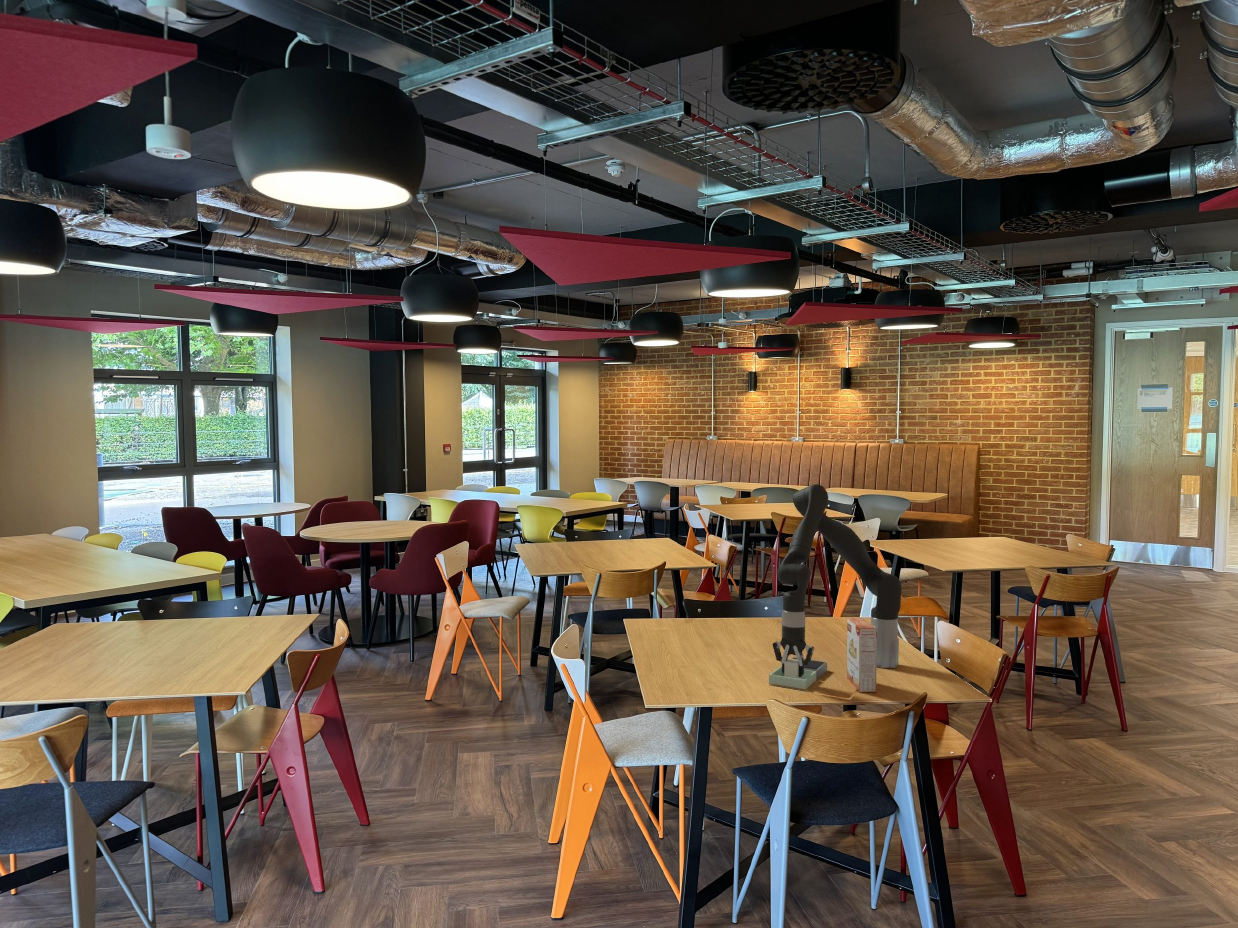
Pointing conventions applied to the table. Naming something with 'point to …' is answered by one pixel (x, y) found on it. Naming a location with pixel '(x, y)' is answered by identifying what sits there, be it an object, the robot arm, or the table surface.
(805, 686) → the bin
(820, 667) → the bin
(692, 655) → the table surface
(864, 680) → the cracker box
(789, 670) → the light grey block
